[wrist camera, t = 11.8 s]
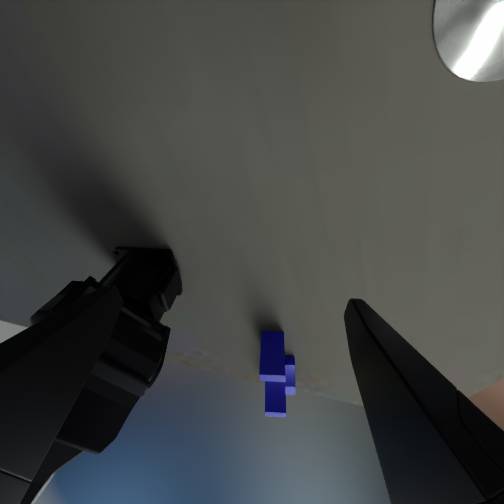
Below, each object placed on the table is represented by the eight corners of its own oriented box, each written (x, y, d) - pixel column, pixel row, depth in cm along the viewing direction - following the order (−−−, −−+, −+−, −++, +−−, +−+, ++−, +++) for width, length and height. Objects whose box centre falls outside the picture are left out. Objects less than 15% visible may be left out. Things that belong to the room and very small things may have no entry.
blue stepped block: (293, 375, 37) (296, 417, 32) (266, 374, 38) (265, 416, 33) (294, 330, 30) (298, 376, 26) (261, 330, 31) (259, 374, 26)
